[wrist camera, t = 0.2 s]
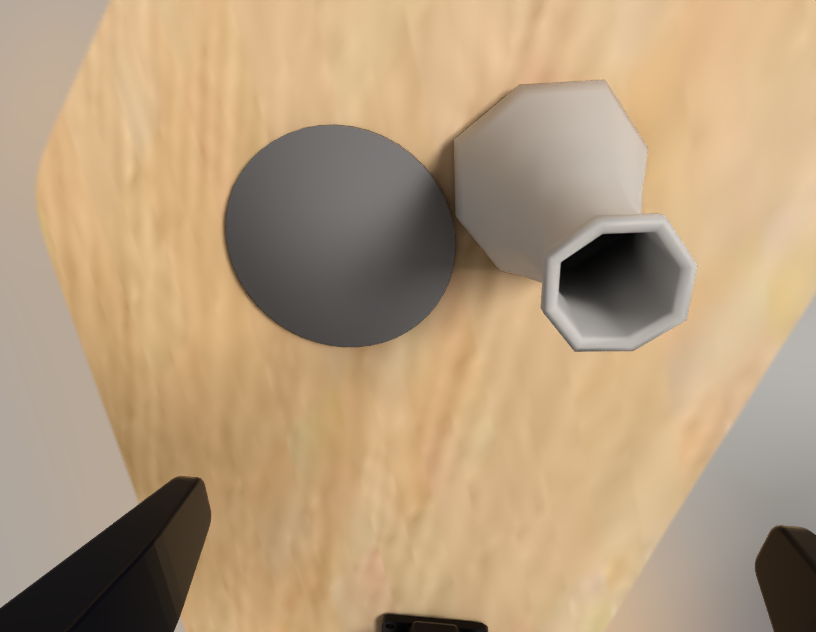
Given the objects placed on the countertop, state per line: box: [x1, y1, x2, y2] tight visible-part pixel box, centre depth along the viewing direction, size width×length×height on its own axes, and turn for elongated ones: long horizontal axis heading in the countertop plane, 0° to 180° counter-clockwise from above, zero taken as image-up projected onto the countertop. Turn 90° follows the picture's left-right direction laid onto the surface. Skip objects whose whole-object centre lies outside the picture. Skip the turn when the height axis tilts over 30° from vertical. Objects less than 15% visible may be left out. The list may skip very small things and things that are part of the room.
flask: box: [454, 80, 697, 352], centre depth 16 cm, size 7×7×10 cm
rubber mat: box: [226, 125, 455, 347], centre depth 22 cm, size 10×10×1 cm
